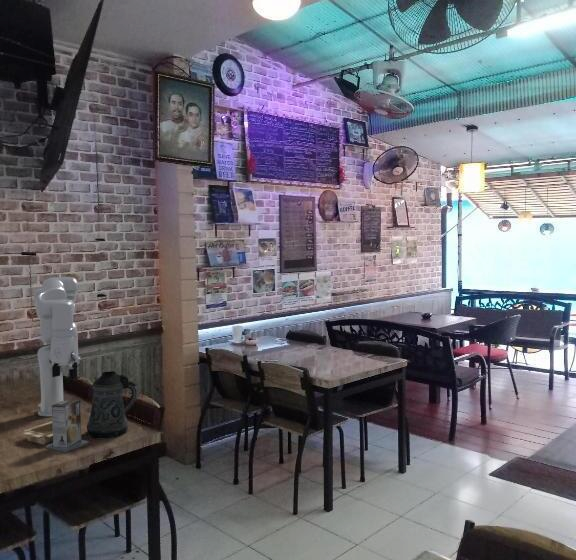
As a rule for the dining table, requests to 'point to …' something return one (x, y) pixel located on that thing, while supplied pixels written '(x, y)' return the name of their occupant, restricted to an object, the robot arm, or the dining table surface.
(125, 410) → the beer stein
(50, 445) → the trivet
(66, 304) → the robot arm
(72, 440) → the coffee box
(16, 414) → the dining table surface
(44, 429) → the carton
